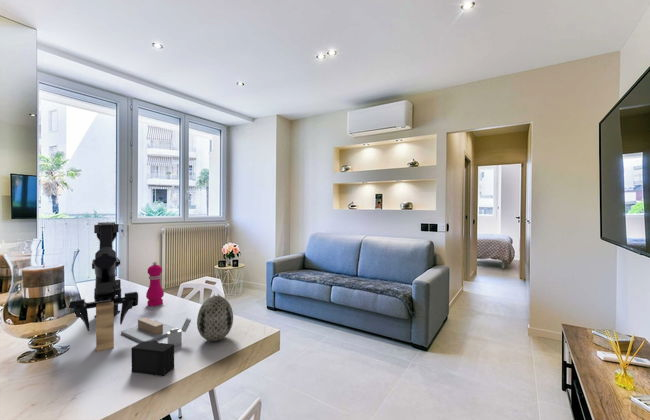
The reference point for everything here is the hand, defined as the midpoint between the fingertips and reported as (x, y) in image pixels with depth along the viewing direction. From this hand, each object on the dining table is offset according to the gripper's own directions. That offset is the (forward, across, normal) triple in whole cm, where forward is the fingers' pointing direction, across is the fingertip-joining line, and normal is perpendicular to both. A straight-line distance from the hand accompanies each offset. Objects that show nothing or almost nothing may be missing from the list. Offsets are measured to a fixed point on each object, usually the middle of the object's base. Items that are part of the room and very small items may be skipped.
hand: (105, 326), depth 95 cm
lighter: (+12, +20, -2) cm, 24 cm away
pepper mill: (-24, +18, +34) cm, 45 cm away
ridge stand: (+1, +13, +9) cm, 16 cm away
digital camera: (+22, +12, -11) cm, 27 cm away
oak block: (+4, 0, +6) cm, 7 cm away
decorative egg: (+15, +31, -5) cm, 35 cm away
